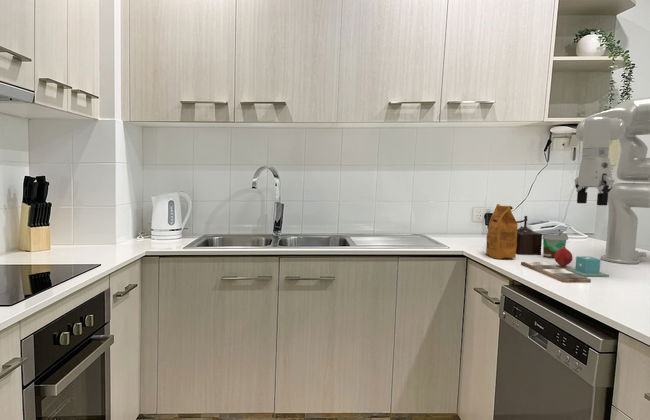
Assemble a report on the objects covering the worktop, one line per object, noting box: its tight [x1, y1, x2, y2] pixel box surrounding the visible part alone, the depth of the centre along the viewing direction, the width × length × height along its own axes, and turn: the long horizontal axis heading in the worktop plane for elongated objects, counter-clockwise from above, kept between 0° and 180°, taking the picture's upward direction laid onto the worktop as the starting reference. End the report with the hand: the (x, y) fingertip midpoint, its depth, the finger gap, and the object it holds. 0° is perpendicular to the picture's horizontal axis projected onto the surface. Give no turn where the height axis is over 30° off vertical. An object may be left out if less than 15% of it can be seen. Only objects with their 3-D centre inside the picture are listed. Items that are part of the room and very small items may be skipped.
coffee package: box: [485, 203, 519, 260], centre depth 162 cm, size 10×12×22 cm
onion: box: [554, 246, 573, 268], centre depth 146 cm, size 6×6×8 cm
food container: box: [542, 231, 569, 260], centre depth 163 cm, size 12×6×10 cm, turn 117°
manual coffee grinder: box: [516, 215, 543, 256], centre depth 173 cm, size 16×11×18 cm
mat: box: [565, 268, 610, 278], centre depth 136 cm, size 9×9×1 cm
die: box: [574, 255, 601, 274], centre depth 136 cm, size 5×5×5 cm
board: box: [520, 261, 592, 283], centre depth 137 cm, size 9×25×1 cm, turn 2°
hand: (591, 204), depth 134 cm, fingers open, 9 cm apart
